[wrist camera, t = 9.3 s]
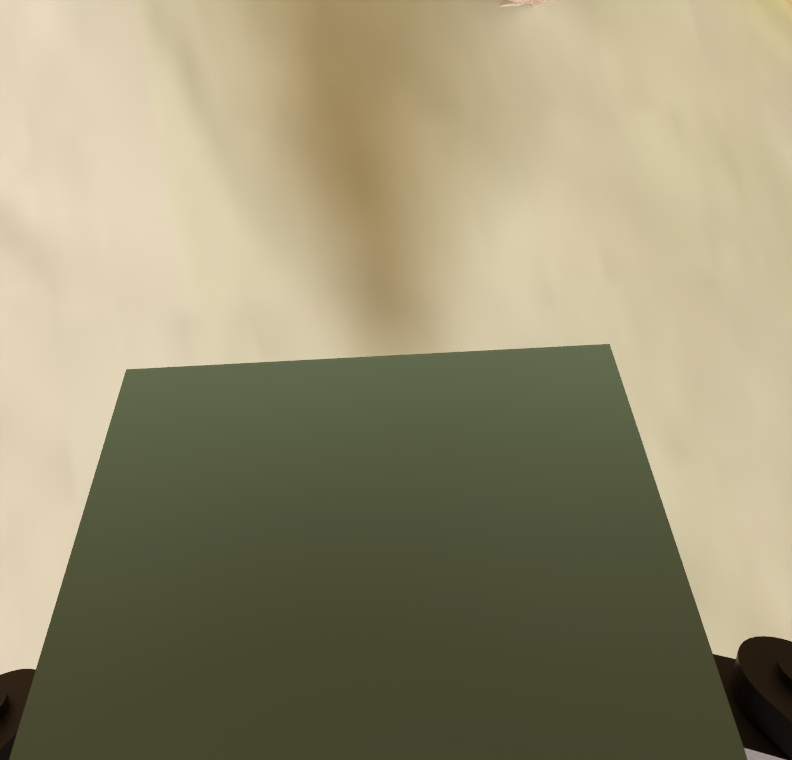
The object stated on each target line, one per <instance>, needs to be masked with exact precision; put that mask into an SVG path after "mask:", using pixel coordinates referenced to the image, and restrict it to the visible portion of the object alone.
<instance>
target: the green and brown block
mask: <svg viewBox="0 0 792 760" xmlns="http://www.w3.org/2000/svg"><path fill="white" fill-rule="evenodd" d="M9 760H748V759H747V756H746V753H745V750H744V747H743V744H742V741H741V738H740V735H739V732H738V729H737V726H736V723H735V720H734V717H733V714H732V711H731V708H730V705H729V702H728V699H727V696H726V693H725V690H724V687H723V684H722V681H721V678H720V675H719V672H718V669H717V666H716V663H715V660H714V657H713V654H712V651H711V648H710V645H709V642H708V639H707V636H706V633H705V630H704V627H703V624H702V621H701V618H700V615H699V612H698V609H697V606H696V603H695V600H694V597H693V594H692V591H691V588H690V585H689V582H688V579H687V576H686V573H685V570H684V567H683V564H682V561H681V558H680V555H679V552H678V549H677V546H676V543H675V540H674V537H673V534H672V531H671V528H670V525H669V522H668V519H667V516H666V513H665V510H664V507H663V504H662V501H661V498H660V495H659V492H658V489H657V486H656V483H655V480H654V477H653V474H652V471H651V468H650V465H649V462H648V459H647V456H646V453H645V450H644V447H643V444H642V441H641V438H640V435H639V432H638V429H637V426H636V423H635V420H634V417H633V414H632V411H631V408H630V405H629V402H628V399H627V395H626V392H625V389H624V386H623V383H622V380H621V377H620V374H619V371H618V368H617V365H616V362H615V359H614V356H613V353H612V350H611V347H610V344H602V345H583V346H564V347H545V348H526V349H507V350H488V351H469V352H451V353H432V354H413V355H394V356H375V357H356V358H337V359H318V360H299V361H280V362H261V363H242V364H223V365H204V366H185V367H166V368H147V369H128V370H126V372H125V376H124V379H123V382H122V386H121V389H120V392H119V396H118V399H117V402H116V406H115V409H114V412H113V416H112V419H111V422H110V425H109V429H108V432H107V435H106V439H105V442H104V445H103V449H102V452H101V455H100V459H99V462H98V465H97V469H96V472H95V475H94V479H93V482H92V485H91V489H90V492H89V495H88V499H87V502H86V505H85V509H84V512H83V515H82V519H81V522H80V525H79V529H78V532H77V535H76V539H75V542H74V545H73V548H72V552H71V555H70V558H69V562H68V565H67V568H66V572H65V575H64V578H63V582H62V585H61V588H60V592H59V595H58V598H57V602H56V605H55V608H54V612H53V615H52V618H51V622H50V625H49V628H48V632H47V635H46V638H45V642H44V645H43V648H42V652H41V655H40V658H39V661H38V665H37V668H36V671H35V675H34V678H33V681H32V685H31V688H30V691H29V695H28V698H27V701H26V705H25V708H24V711H23V715H22V718H21V721H20V725H19V728H18V731H17V735H16V738H15V741H14V745H13V748H12V751H11V755H10V758H9Z"/></svg>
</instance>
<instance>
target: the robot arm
mask: <svg viewBox="0 0 792 760" xmlns="http://www.w3.org/2000/svg"><path fill="white" fill-rule="evenodd" d="M713 657H714V660H715V663H716V666H717V669H718V672H719V675H720V678H721V681H722V684H723V687H724V690H725V693H726V696H727V699H728V702H729V705H730V708H731V711H732V714H733V717H734V720H735V723H736V726H737V729H738V732H739V735H740V738H741V741H742V744H743V747H744V750H745V753H746V756H747V759H748V760H792V642H791V641H788V640H784V639H780V638H775V637H765V636H762V637H753V638H749V639H747V640H746V641H744V642H743V643H742V644H741V645H740V647H739V650H738V654H737V658H736V659H732V658H728V657H723V656H719V655H715V654H713ZM35 671H36V670H34V669H20V670H15V671H11V672H8V673H4V674H2V675H0V760H9V758H10V755H11V751H12V748H13V745H14V741H15V738H16V735H17V731H18V728H19V725H20V721H21V718H22V715H23V711H24V708H25V705H26V701H27V698H28V695H29V691H30V688H31V685H32V681H33V678H34V675H35Z"/></svg>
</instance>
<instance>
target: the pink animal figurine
mask: <svg viewBox="0 0 792 760" xmlns="http://www.w3.org/2000/svg"><path fill="white" fill-rule="evenodd" d="M510 1H513V2H512V3H508V4H504V5H502V6H500V7H503V6H516V5H522V4H531V5H532V6H535V5H538V4H540V3H543V2H545V1H550V0H510Z"/></svg>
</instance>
